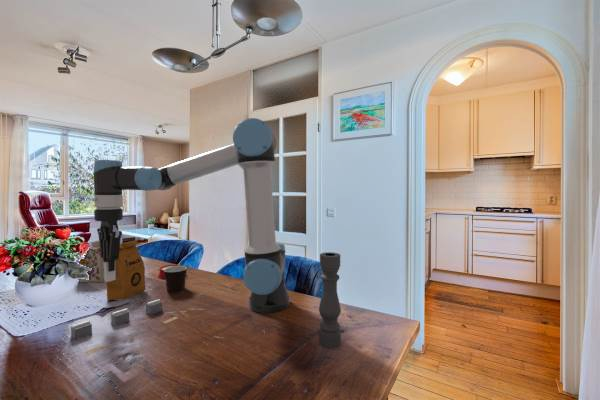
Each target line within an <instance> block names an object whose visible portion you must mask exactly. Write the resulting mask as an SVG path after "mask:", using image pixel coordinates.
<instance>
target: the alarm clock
mask: <svg viewBox="0 0 600 400" xmlns="http://www.w3.org/2000/svg"><path fill="white" fill-rule="evenodd" d="M174 266H179V264H169V265H164V266H161V267H160V268H159V269H158V271H159V273H158V275H157V277H158V278H160V279H165V274H164V269H166V268H169V267H174Z"/></svg>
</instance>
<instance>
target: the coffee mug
mask: <svg viewBox="0 0 600 400" xmlns="http://www.w3.org/2000/svg"><path fill="white" fill-rule="evenodd" d="M187 271H188V268H187V266H183V265H178V266H174V267H169V268H166V269H164V274H165V278H164V280H165V286H166V292H167V293H180V292H182V291H184V290H185V289H186V279H187Z"/></svg>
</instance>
